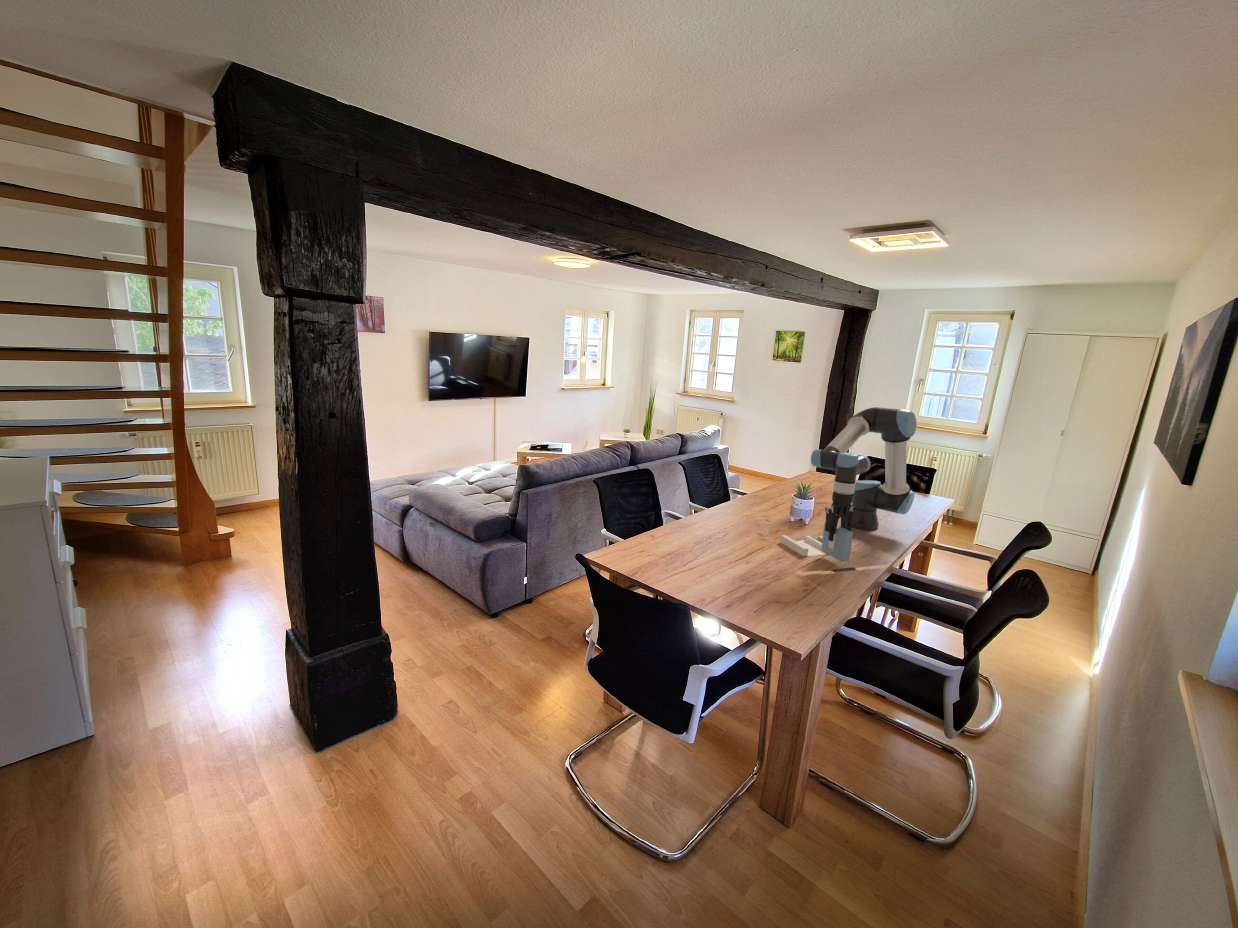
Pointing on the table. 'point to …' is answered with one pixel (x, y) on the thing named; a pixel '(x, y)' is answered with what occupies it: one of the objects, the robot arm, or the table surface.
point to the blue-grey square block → (838, 544)
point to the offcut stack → (818, 538)
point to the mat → (844, 570)
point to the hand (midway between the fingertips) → (835, 547)
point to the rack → (804, 546)
